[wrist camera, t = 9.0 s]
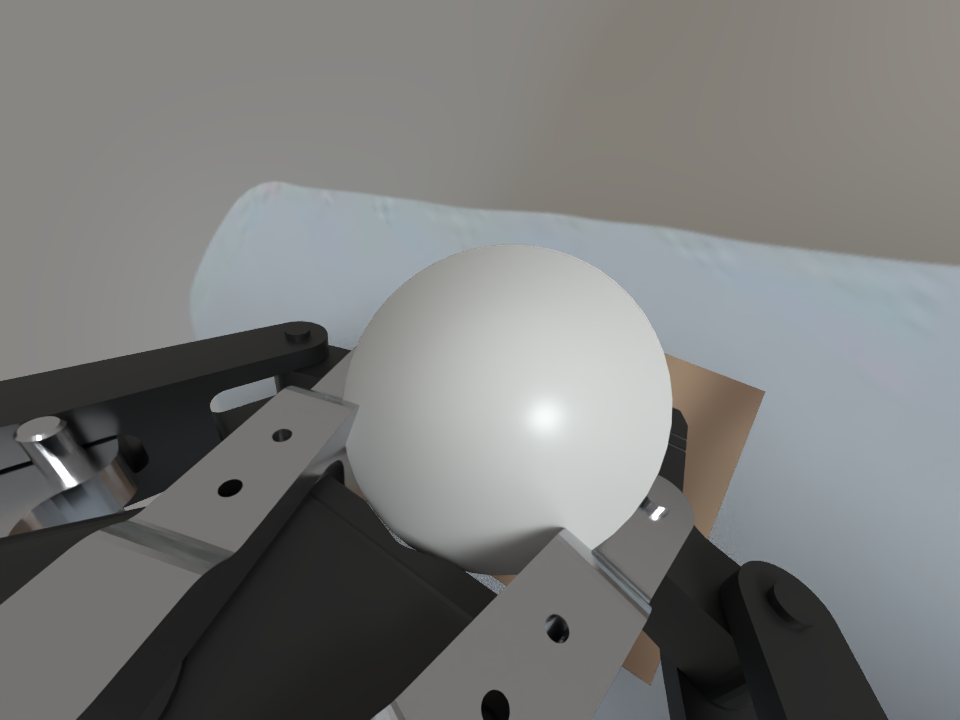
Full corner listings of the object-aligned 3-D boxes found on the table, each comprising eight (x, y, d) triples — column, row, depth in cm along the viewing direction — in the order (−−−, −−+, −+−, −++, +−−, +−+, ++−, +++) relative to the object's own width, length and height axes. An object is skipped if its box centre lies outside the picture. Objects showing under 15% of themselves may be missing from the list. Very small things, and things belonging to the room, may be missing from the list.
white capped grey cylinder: (624, 409, 14) (729, 306, 5) (569, 531, 13) (575, 667, 4) (510, 358, 15) (436, 211, 7) (455, 463, 15) (288, 457, 6)
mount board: (750, 397, 18) (765, 391, 17) (643, 667, 16) (650, 685, 15) (485, 294, 24) (480, 283, 22) (379, 487, 22) (366, 488, 20)
